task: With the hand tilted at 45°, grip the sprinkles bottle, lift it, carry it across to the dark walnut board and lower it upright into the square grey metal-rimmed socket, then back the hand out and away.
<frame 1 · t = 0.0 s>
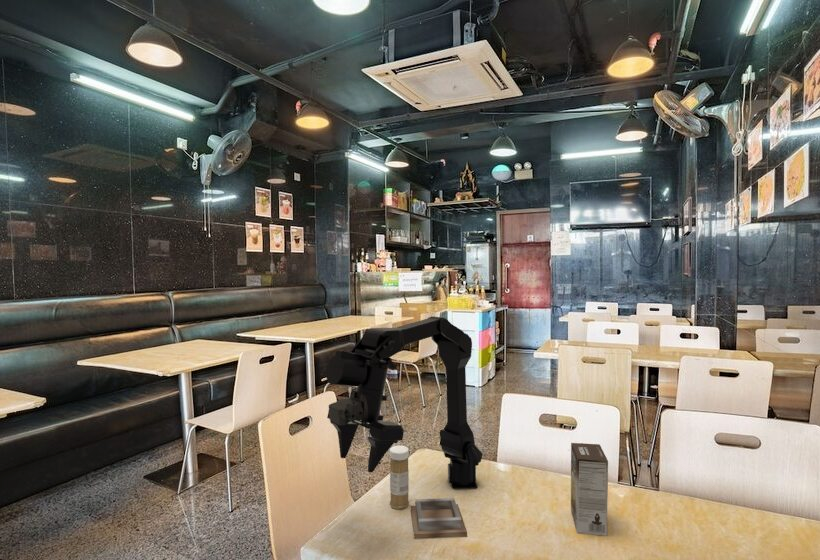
hand: (356, 464, 91), 15 cm above the table, tool pointing down, fingers open, 9 cm apart
sprinkles bottle: (399, 505, 104), on the table
socket board: (437, 522, 97), on the table
coffee box: (588, 524, 97), on the table
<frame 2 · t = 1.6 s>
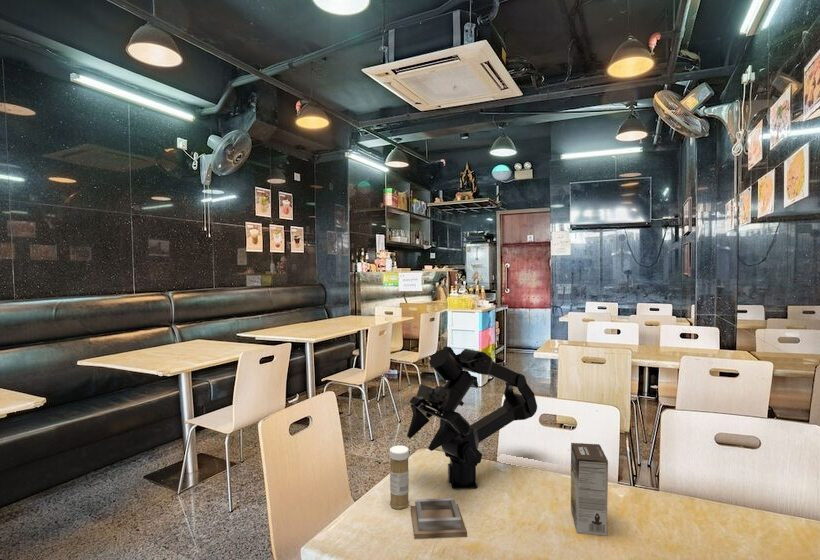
hand: (418, 443, 107), 13 cm above the table, tool tilted 45°, fingers open, 9 cm apart
nothing on the table moved.
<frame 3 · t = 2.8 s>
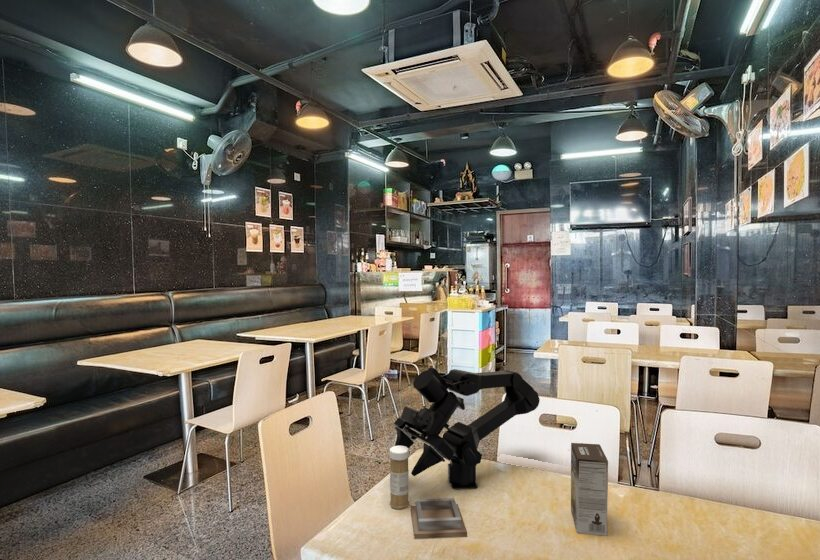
hand: (401, 467, 105), 9 cm above the table, tool tilted 45°, fingers open, 9 cm apart
nothing on the table moved.
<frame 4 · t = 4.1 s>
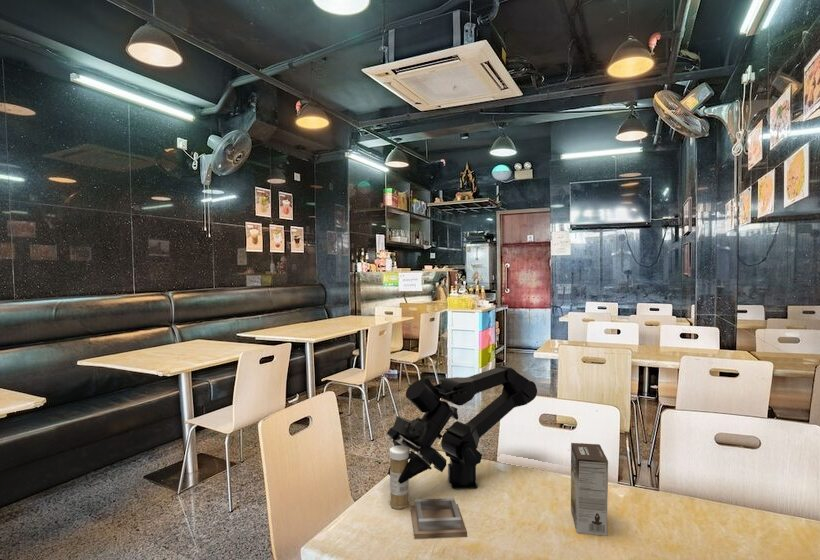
hand: (394, 478, 104), 7 cm above the table, tool tilted 45°, fingers closed on sprinkles bottle, 4 cm apart
sprinkles bottle: (399, 505, 104), on the table, touching gripper
everything else where it was.
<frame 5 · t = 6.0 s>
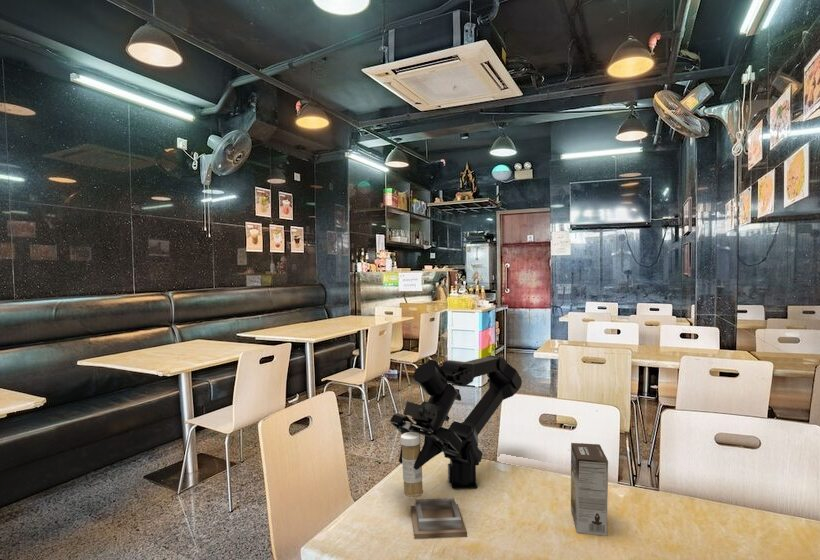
hand: (407, 465, 100), 11 cm above the table, tool tilted 45°, fingers closed on sprinkles bottle, 4 cm apart
sprinkles bottle: (413, 494, 101), point 4 cm above the table, touching gripper
everything else where it was.
when the fingers open (8 cm above the table, at t = 7.8 s): sprinkles bottle stays where it is, resting on socket board.
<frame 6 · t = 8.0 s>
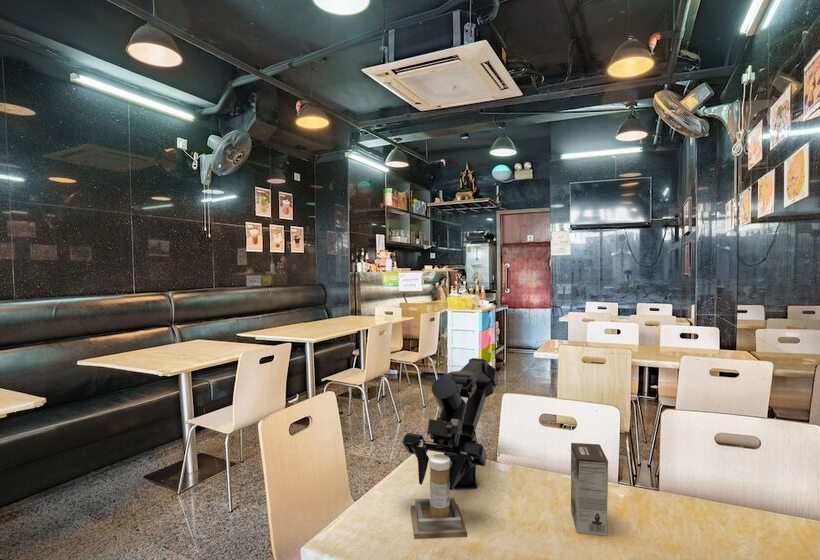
hand: (435, 486, 96), 9 cm above the table, tool tilted 45°, fingers open, 7 cm apart
sprinkles bottle: (439, 519, 97), point 1 cm above the table, touching socket board
everything else where it was.
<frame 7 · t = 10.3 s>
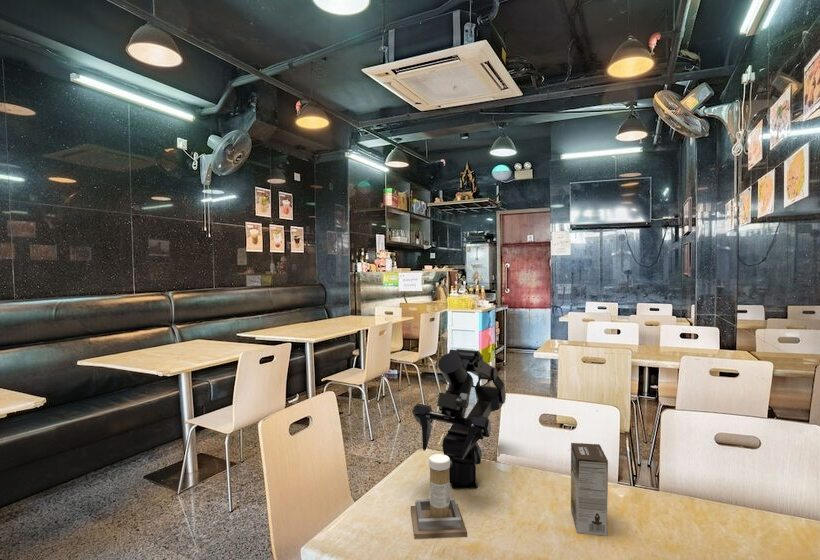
hand: (442, 454, 103), 13 cm above the table, tool tilted 40°, fingers open, 9 cm apart
nothing on the table moved.
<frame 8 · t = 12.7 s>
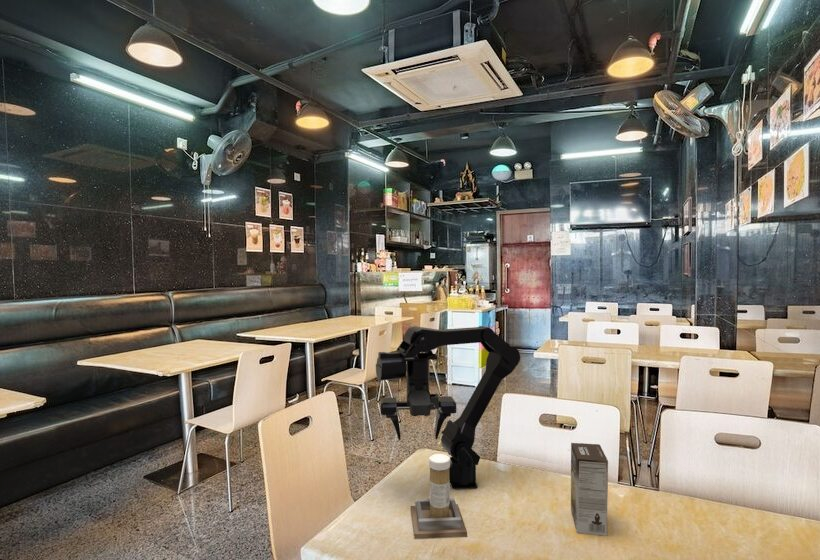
hand: (417, 439, 111), 13 cm above the table, tool pointing down, fingers open, 9 cm apart
nothing on the table moved.
at the end: sprinkles bottle 0.5 cm off-centre on the socket board, point 0.8 cm above the socket board's base; sprinkles bottle tilted 0°; the gripper is holding nothing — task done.
